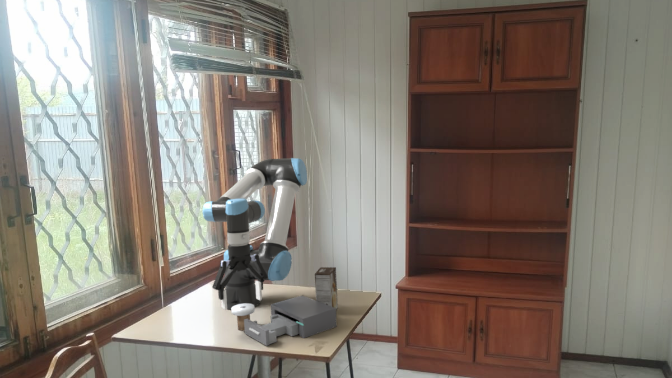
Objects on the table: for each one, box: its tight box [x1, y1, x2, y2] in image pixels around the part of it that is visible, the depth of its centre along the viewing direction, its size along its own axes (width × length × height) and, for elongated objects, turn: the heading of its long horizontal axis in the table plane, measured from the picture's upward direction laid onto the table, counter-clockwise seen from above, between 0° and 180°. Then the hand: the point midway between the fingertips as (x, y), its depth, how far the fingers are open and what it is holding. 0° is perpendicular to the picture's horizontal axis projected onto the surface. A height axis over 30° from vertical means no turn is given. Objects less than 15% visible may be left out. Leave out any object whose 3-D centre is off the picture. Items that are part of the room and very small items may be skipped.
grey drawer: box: [244, 314, 299, 347], centre depth 166 cm, size 14×14×5 cm
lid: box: [231, 303, 256, 317], centre depth 172 cm, size 8×8×2 cm
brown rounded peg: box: [236, 314, 251, 332], centre depth 173 cm, size 4×4×6 cm
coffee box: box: [314, 266, 339, 310], centre depth 186 cm, size 9×6×16 cm
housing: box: [270, 294, 337, 339], centre depth 174 cm, size 20×14×7 cm
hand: (242, 303), depth 172 cm, fingers open, 13 cm apart
